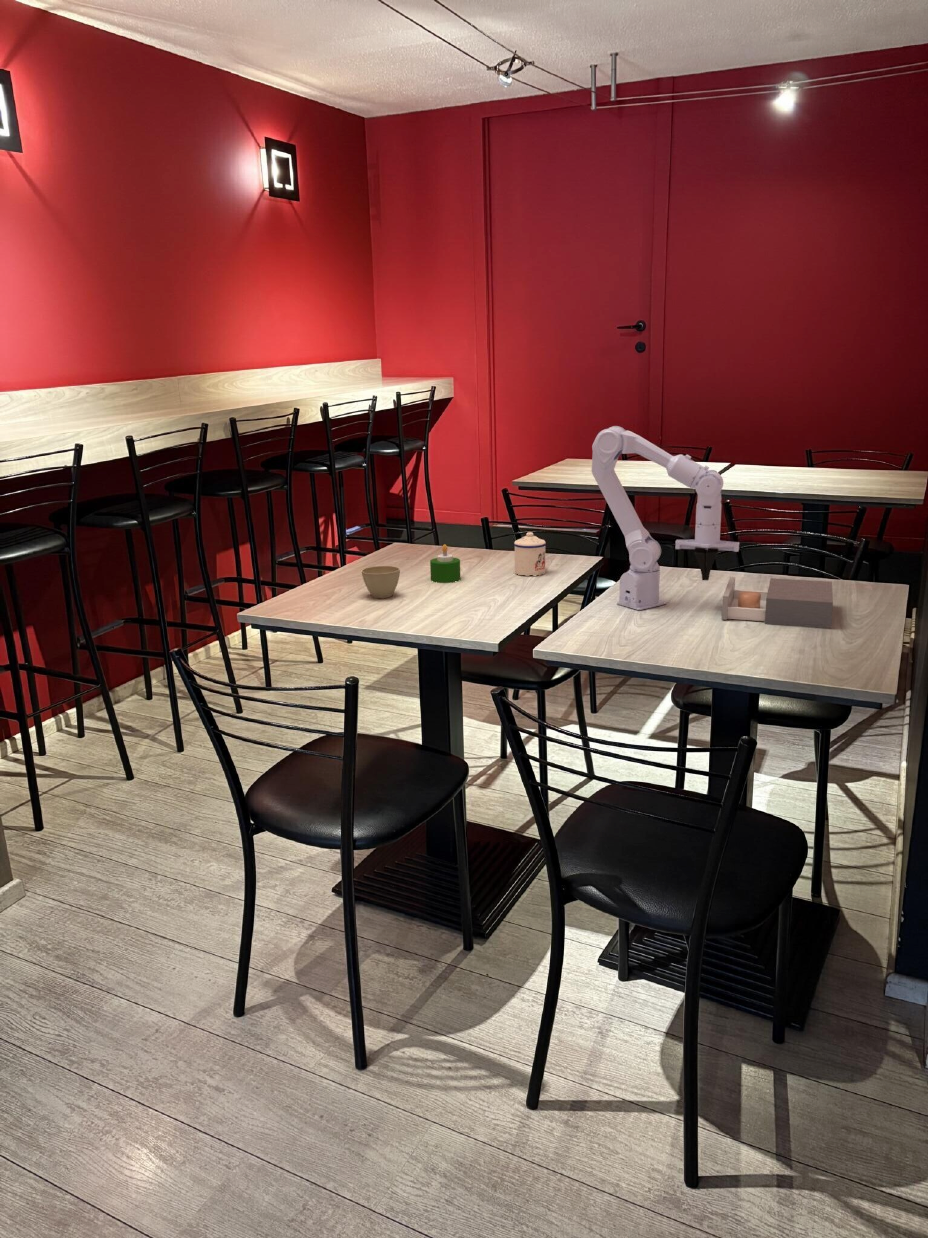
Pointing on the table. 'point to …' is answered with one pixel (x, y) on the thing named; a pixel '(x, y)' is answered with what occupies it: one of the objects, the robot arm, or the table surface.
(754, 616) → the tray
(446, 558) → the candle
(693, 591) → the table surface
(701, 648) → the table surface
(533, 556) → the teacup with lid
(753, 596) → the orange rounded part
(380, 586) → the bowl
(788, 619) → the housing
